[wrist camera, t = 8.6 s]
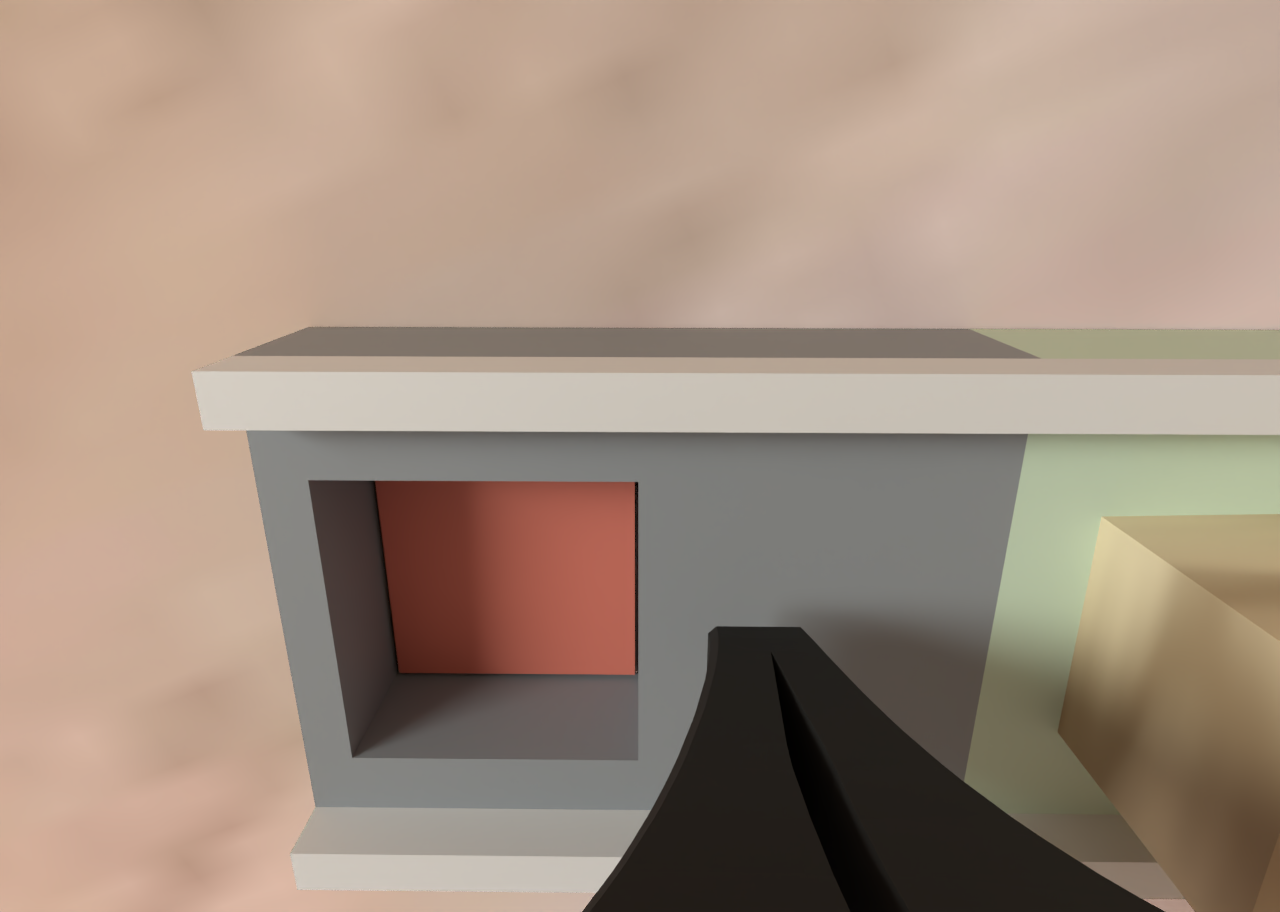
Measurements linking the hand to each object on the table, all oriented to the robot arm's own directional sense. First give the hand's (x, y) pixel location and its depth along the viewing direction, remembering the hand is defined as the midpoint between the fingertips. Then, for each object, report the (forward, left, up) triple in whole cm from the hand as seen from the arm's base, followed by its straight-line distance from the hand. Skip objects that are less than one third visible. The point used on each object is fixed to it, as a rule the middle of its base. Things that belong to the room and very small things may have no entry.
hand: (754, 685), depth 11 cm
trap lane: (0, -5, -4) cm, 6 cm away
